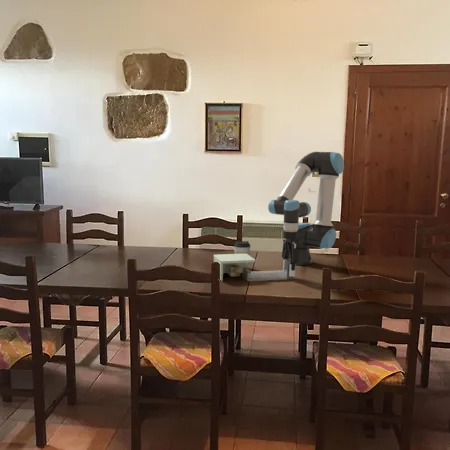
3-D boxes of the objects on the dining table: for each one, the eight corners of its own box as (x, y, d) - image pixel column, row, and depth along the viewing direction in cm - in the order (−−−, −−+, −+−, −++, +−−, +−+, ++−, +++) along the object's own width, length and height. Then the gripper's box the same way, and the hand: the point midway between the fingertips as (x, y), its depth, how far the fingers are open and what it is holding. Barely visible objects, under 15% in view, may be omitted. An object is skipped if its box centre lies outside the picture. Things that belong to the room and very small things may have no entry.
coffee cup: (236, 270, 278) (236, 243, 276) (231, 266, 287) (232, 240, 285) (252, 269, 281) (252, 242, 278) (246, 265, 289) (247, 239, 287)
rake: (286, 274, 272) (287, 256, 270) (293, 279, 263) (293, 260, 262) (242, 276, 266) (242, 257, 264) (247, 281, 257) (248, 261, 256)
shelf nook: (246, 272, 275) (246, 253, 274) (254, 279, 261) (255, 259, 259) (213, 273, 271) (213, 254, 269) (220, 281, 256) (220, 261, 255)
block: (237, 273, 272) (237, 264, 271) (240, 276, 267) (240, 266, 266) (228, 274, 271) (228, 264, 270) (230, 276, 266) (231, 267, 265)
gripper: (276, 227, 270) (274, 269, 273) (291, 234, 250) (289, 279, 253) (289, 227, 272) (288, 268, 275) (305, 234, 252) (303, 279, 255)
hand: (288, 273), depth 264 cm, fingers open, 8 cm apart
